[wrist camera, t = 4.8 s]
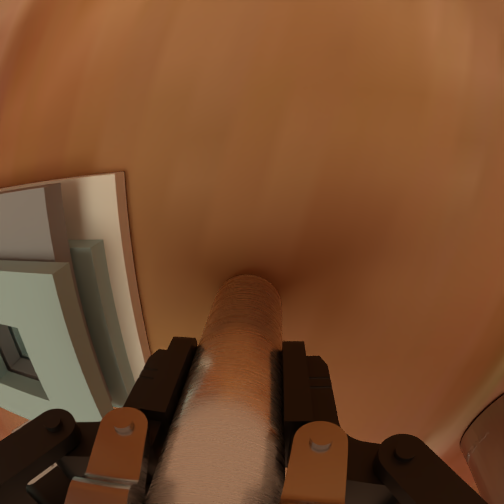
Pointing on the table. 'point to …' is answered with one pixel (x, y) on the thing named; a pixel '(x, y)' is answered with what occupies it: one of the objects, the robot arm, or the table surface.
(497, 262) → the table surface
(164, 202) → the table surface
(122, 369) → the square frame block
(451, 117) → the table surface
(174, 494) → the pin
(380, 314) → the table surface
